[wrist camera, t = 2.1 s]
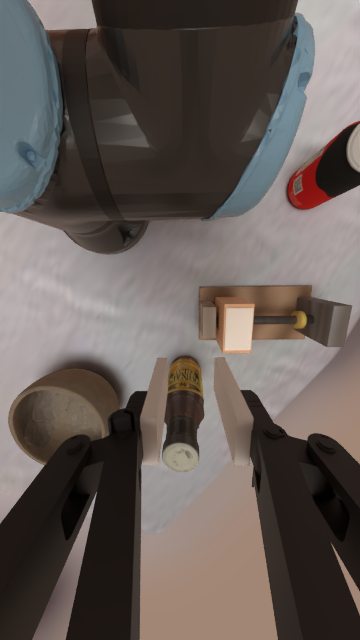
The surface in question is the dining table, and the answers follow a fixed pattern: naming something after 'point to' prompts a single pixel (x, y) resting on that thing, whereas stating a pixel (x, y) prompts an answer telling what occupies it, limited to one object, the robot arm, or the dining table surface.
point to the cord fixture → (280, 314)
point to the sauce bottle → (183, 415)
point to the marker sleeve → (234, 324)
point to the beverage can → (328, 171)
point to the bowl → (61, 411)
